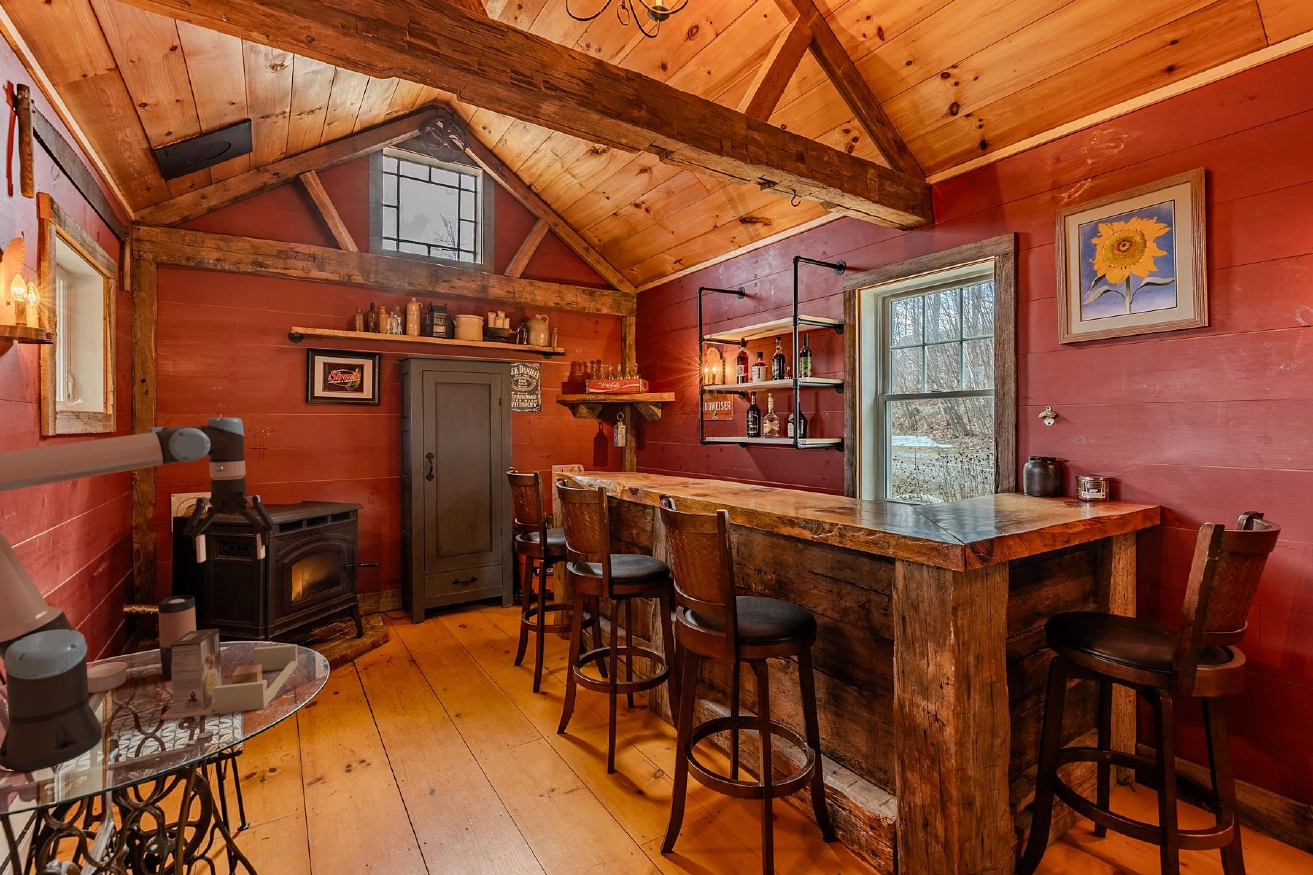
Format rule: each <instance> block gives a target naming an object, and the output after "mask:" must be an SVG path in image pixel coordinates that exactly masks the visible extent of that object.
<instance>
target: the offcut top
mask: <svg viewBox="0 0 1313 875" xmlns="http://www.w3.org/2000/svg"><path fill="white" fill-rule="evenodd" d="M231 679H232V681H231V682H232V683H231V685H232V684H242V683H252V682H262V680H263V671H262V664H258V665H254V664H252V665H244V666H238V667H236V669H235V670H234V672H232V675H231Z"/></svg>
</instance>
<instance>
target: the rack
mask: <svg viewBox="0 0 1313 875" xmlns="http://www.w3.org/2000/svg"><path fill="white" fill-rule="evenodd" d="M298 663H299V661H298V644H297V643H295V644H286V645H274V646H263V647H254V649H253V665H258V664H262V672H266V671H267V672H268V671H275V670H276V671H278V670H277V669H279V670H282V671H281V673H280V674H279V675H278V676H277V677H276V679H274V681H273V682H272V683H271V684H270V685H269V687H267V690H266V692H265V681H263V682H252V683H242V684H232V683H231V684H224V685H223V684H222V686H216V687H215V688H214V706H215V712H214V714H215V715H217V714H218V715H219V714H227V712H228V713H235V712H244V711H245V712H246V710H247V711H254V710H263V709H265V708H266V707H267V705H268V704H269V703H270V701H272V699H273V698H274V697H275V695H276V694H277V693H278V691H279V690H280V689H281V688H282V687H283V685H284V684H285V683H286V681H287V680H288V679H289V678H290V676H291V675H292V674H293V673H294V671H295V670H296V669H297V668H296V666H297V665H298V666H299V664H298ZM298 666H297V667H298ZM295 668H296V669H295ZM294 669H295V670H294ZM293 670H294V671H293ZM292 672H293V673H292ZM291 673H292V674H291ZM290 674H291V675H290ZM289 675H290V676H289ZM288 677H289V678H288ZM287 678H288V679H287ZM286 679H287V680H286ZM285 680H286V681H285ZM284 682H285V683H284ZM283 683H284V684H283ZM280 687H281V688H280ZM279 688H280V689H279ZM243 710H244V711H243Z"/></svg>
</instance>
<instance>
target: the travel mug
mask: <svg viewBox="0 0 1313 875" xmlns="http://www.w3.org/2000/svg"><path fill="white" fill-rule="evenodd" d="M195 603H196V601H195V596H194V595H191V594H188V595H187V594H182V595H175V596H170V597H165V598H164V599H162V601H161V602H157V607H158V630H159V631H158V635H159V650H160V652H159V653H160V664H161V672H162V673H161V674H162V679H163V680H165V681H172V671H171V652H170V645H171V644H173V643H174V642H175V641H177V640H178V639H180V638H181V637H183V636H184V635H185V634H187V633H188V632H190V631H197V624H196V623H197V622H196V606H195Z"/></svg>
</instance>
